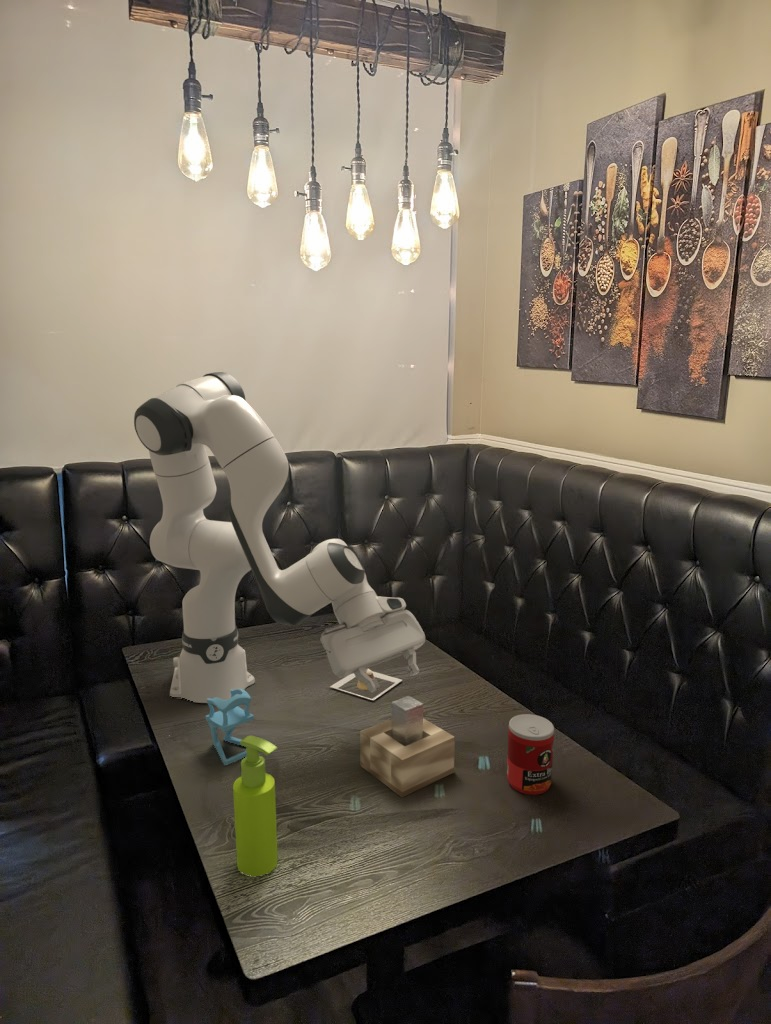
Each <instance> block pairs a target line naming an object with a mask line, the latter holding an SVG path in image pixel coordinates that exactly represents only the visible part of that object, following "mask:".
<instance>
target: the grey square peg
mask: <svg viewBox="0 0 771 1024" xmlns="http://www.w3.org/2000/svg"><path fill="white" fill-rule="evenodd" d="M390 703H391V707H390V709H391V714H390V715H391V716H390V719H391V738H393V739H394V740H396V741H397V742H399V743H400V744H402V745H403V746H407V745H409V744H412V743H414V742H416V741H419V740H421V739H423V718H424V703H423V702H421V701H419V700H417V699H415V698H414V697H412V696H410V695H407V696H403V697H401V698H399V699H397V700H394V701H391V702H390Z"/></svg>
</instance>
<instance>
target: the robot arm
mask: <svg viewBox="0 0 771 1024" xmlns="http://www.w3.org/2000/svg"><path fill="white" fill-rule="evenodd" d="M133 425H134V430H135V433H136V435H137V437H138V439H139V441H140V443H141V444H142V445H143V446H144V448H145V449H147V450H148V452H149V458H150V461H151V466H152V468H153V469H152V470H153V474H154V476H155V480H156V482H157V486H158V489H159V492H160V497H161V501H162V515H161V519H160V520H159V521H158V522H157V524H156V525H155V526H154V527H153V529H152V531H151V533H150V537H149V547H150V549H149V550H150V552H151V554H152V556H153V557H154V559H156V560H157V561H159V562H161V563H162V564H163V563H164V564H166V565H169V566H171V567H175V568H180V569H189V570H193V571H194V570H197V571H199V573H200V579H199V584H198V585H196V586H194V587H191V588H190V589H189V590H188V591H187V593H185V595H184V597H183V599H182V602H181V604H182V621H183V631H182V633H181V634H182V635H181V642H182V648H181V652H180V655H179V656H176V657H173V659H172V661H173V667H174V671H173V674H172V680H171V684H170V689H169V697H170V696H172V697H181V698H180V699H182V698H185V699H187V700H186V701H188V700H190V701H189V702H191V701H193V702H192V703H200V704H208V703H207V698H210V699H212V698H216V697H218V698H220V699H222V700H227V699H229V698H231V691H230V690H231V689H233V690H237V689H243V690H246V688H248V687H249V686H252V685H254V683H256V679H255V677H254V675H252V674H251V673H250V672H249V671H248V667H247V665H248V664H247V656H246V650H245V649H243V647H242V646H240V645H239V631H238V626H237V625H236V613H235V611H236V609H235V607H236V605H235V604H236V593H237V589H238V586H239V583H240V582H241V581H242V578H243V577H244V576H245V575H246V574H248V572H250V571H252V573H253V576H254V578H255V581H256V583H257V586H258V589H259V592H260V595H261V597H262V600H263V603H264V606H265V608H266V610H267V612H268V614H269V615H270V617H271V618H272V620H273V621H275V623H279V624H281V625H285V626H291V627H293V626H294V627H298V626H300V625H301V624H302V623H303V622H305V621H306V620H307V619H308V618H310V617H311V616H313V614H315V613H316V612H318V611H319V610H321V609H322V608H324V607H327V606H328V605H329V604H331V605H332V609H333V613H334V615H335V618H336V620H337V622H338V624H337V625H334V626H332V627H327V628H325V629H324V630H323V632H322V633H321V634H320V638H319V639H320V644H321V645H322V647H323V648H324V649H323V650H325V652H326V655H327V659H328V662H329V665H330V668H331V670H332V673H333V674H334V675H335V676H336V677H337V678H340V679H343V678H345V677H346V676H348V675H350V674H353V673H354V674H355V676H356V677H355V678H356V680H359V681H361V682H362V683H363V684H365V685H366V686H367V688H368V690H367V691H368V692H369V693H370V694H371V693H374V692H376V691H379V690H380V688H381V685H380V684H379V681H378V679H377V678H374V680H373V679H371V678H370V677H369V676H368V675H367V674H366V672H367V668H368V669H370V667H374V666H376V665H378V664H382V663H384V662H387V661H390V660H392V659H395V658H398V657H400V656H402V655H403V658H404V659H406V660H407V661H408V662H407V663H408V666H407V667H406V668H405V670H406V672H407V673H408V676H409V677H412V676H416V675H417V674H419V673H420V669H419V667H418V665H417V652H416V650H418V649H419V648H421V647H422V646H423V645H424V644H425V642H426V635H425V631H423V628H422V626H421V625H420V623H419V621H418V620H417V618H416V617H415V615H414V614H413V613H412V612H411V611H410V610H408V609H406V607H407V603H406V601H405V600H404V598H401V597H390V596H389V597H388V596H380V595H379V596H378V594H377V593H376V591H375V590H374V589H373V588H372V587H371V585H370V584H369V582H368V579H367V575H366V572H365V571H366V570H365V568H364V565H363V563H362V562H361V560H360V559H359V556H358V555H357V553H356V551H354V549H353V548H351V547H350V546H348V544H347V543H346V542H345V541H344V540H343V539H340V538H329V539H325V540H324V541H322V542H319V543H318V544H317V545H316V546H315V547H314V548H313V549H312V550H311V552H310V553H308V554H307V555H306V556H305V557H303V558H302V559H300V560H298V561H297V562H295V563H293V564H291V565H289V567H287V568H285V569H280V568H279V567H278V564H277V561H276V560H275V558H274V556H273V555H274V554H273V553H272V551H271V550H272V549H270V546H269V544H268V542H267V540H266V537H265V534H264V532H263V522H264V518H265V516H266V513H267V512H268V510H269V509H270V507H271V506H272V504H273V502H275V500H276V499H277V497H278V496H279V495H280V493H281V492H282V490H283V488H284V487H285V484H286V482H287V480H288V476H289V469H290V468H289V461H288V457H287V455H286V453H285V452H284V450H283V447H282V446H281V444H280V442H279V440H277V438H276V436H275V434H274V433H273V432H272V430H271V429H270V428H269V426H268V425H267V423H266V422H265V421H264V419H263V418H262V417H261V416H260V415H259V414H258V412H257V411H256V410H255V408H253V407H252V406H251V405H250V404H249V402H247V400H246V395H245V392H244V389H243V388H242V386H241V384H240V383H239V381H238V380H237V379H236V378H235V377H234V376H232V375H231V374H229V373H228V372H224V371H218V372H217V371H216V372H215V371H214V372H209V373H205V374H204V375H203V376H201V377H197V378H194V379H190V380H187V381H185V382H184V381H183V382H182V383H179V384H177V385H176V386H175V387H173V388H171V389H169V390H167V391H165V392H163V393H161V394H159V395H158V396H156V397H152V398H149V399H148V400H146V401H145V402H143V403H142V404H141V405H140V406H139V407H138V408H137V409H136V410H135V412H134V416H133ZM206 447H207V448H208V449H209V450H210V451H211V453H212V454H213V456H214V458H215V460H216V461H217V463H218V464H219V466H220V467H221V469H222V470H223V473H224V474H225V476H226V478H227V481H228V484H229V490H230V498H229V500H228V502H227V504H226V507H227V512H228V513H227V514H228V517H229V520H230V521H223V520H222V521H221V520H213V519H211V520H210V519H208V518H206V516H205V514H204V509H206V508H207V507H209V506H210V504H212V502H213V501H214V499H215V497H216V495H217V494H216V493H217V491H218V490H217V489H218V487H217V485H216V480H215V478H214V473H213V470H212V464H211V461H210V458H209V456H208V455H209V454H208V451H207V448H206ZM236 695H239V694H236ZM172 697H171V698H172ZM185 699H184V700H185Z"/></svg>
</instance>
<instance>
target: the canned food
mask: <svg viewBox="0 0 771 1024" xmlns="http://www.w3.org/2000/svg"><path fill="white" fill-rule="evenodd" d="M507 735H508V737H507V759H506V761H507V763H506V777H507V782H508V783H509V785H510V786H511V788H513V789H514V790H516V791H518V792H519V793H521V794H525V795H531V796H532V795H535V796H537V795H541V794H544V793H546V792H548V791H549V789H550V787H551V784H552V776H553V758H554V743H555V742H554V740H555V726H554V724H553V723H552V722H551V721H550V720H549V719H547V718H545V717H543V716H540V715H538V714H537V715H536V714H532V713H531V714H530V713H523V714H516V715H514V716H513V717H512V718H510V720H509V724H508V731H507Z"/></svg>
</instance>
